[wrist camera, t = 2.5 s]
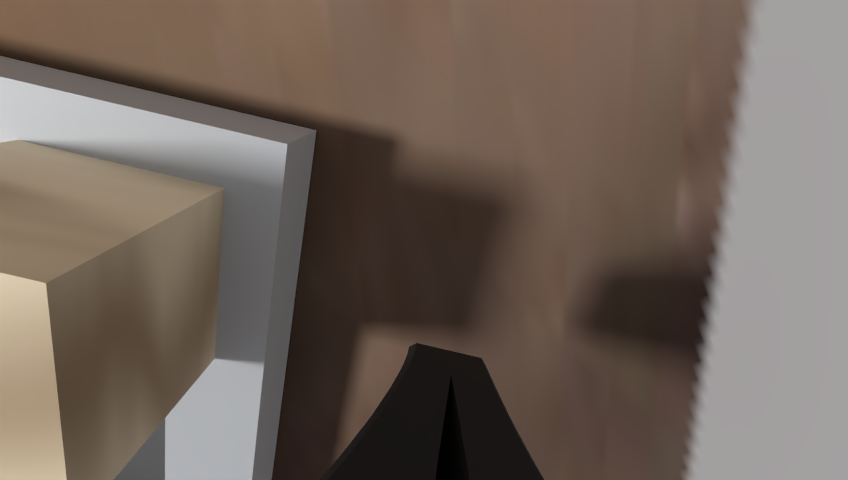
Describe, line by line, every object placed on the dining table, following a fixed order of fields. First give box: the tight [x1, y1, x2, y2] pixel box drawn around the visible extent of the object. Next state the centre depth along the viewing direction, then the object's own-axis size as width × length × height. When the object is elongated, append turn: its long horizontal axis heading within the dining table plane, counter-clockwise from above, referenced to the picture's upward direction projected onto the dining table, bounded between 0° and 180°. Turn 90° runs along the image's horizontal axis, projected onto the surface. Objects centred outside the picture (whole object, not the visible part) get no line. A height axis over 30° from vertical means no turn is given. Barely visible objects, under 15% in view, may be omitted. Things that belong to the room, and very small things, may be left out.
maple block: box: [0, 140, 224, 480], centre depth 8 cm, size 4×4×4 cm
